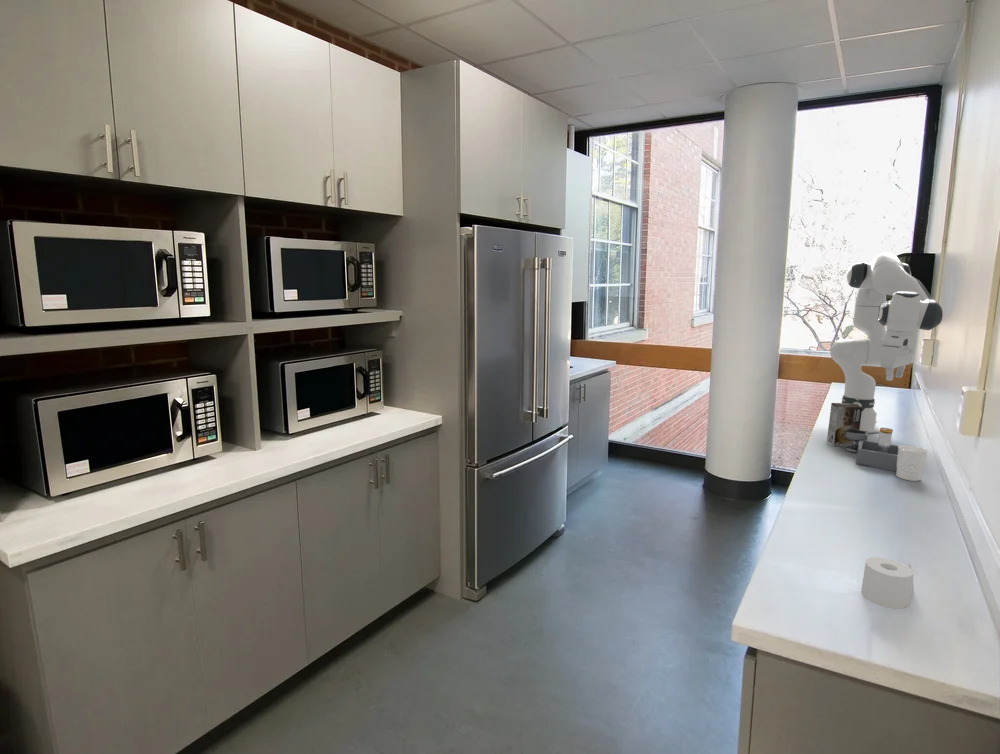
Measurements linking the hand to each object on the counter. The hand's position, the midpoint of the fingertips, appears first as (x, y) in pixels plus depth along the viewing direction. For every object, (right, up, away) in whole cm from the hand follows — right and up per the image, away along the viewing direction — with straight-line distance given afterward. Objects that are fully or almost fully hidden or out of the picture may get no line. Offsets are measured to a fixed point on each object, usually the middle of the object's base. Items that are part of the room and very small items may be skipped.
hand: (894, 378), depth 202 cm
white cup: (-1, -33, -8) cm, 34 cm away
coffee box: (-2, -26, +28) cm, 38 cm away
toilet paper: (-55, -45, -82) cm, 108 cm away
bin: (-1, -30, +6) cm, 31 cm away
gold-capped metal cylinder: (-1, -30, +6) cm, 30 cm away
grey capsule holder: (-2, -28, +20) cm, 34 cm away
